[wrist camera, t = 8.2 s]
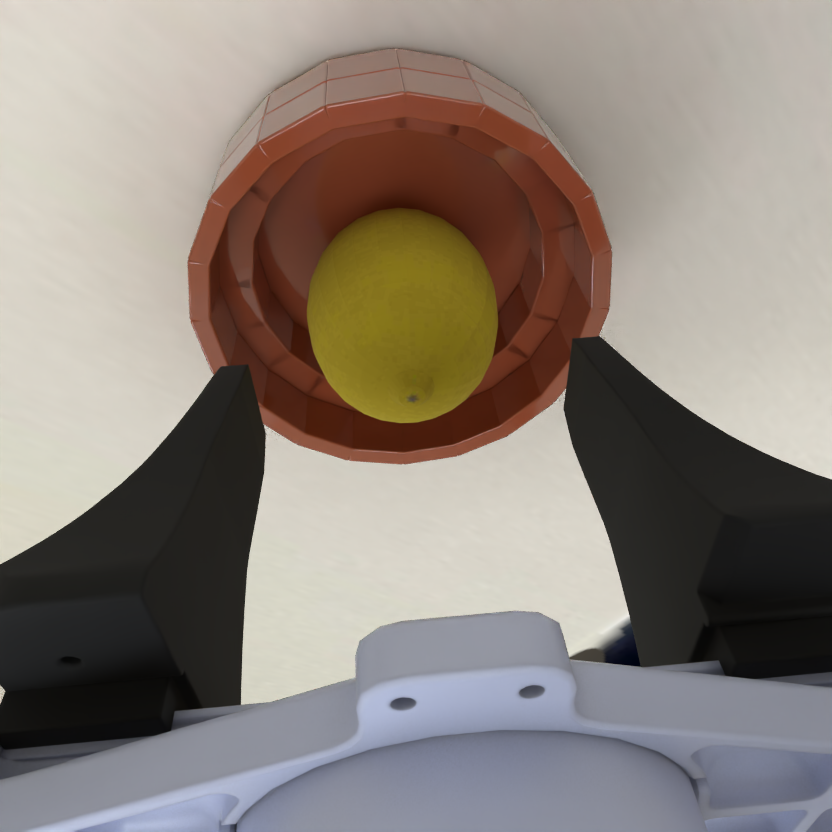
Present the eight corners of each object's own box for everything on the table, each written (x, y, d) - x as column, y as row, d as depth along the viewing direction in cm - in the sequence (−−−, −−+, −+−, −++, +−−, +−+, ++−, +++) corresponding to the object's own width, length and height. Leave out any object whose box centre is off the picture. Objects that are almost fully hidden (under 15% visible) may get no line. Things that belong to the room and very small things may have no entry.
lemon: (304, 308, 25) (291, 467, 19) (322, 153, 21) (313, 288, 15) (455, 327, 26) (489, 484, 20) (495, 183, 22) (551, 319, 16)
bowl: (646, 161, 23) (701, 223, 19) (459, 420, 30) (475, 501, 26) (293, -42, 19) (281, -9, 15) (167, 315, 25) (139, 395, 22)
